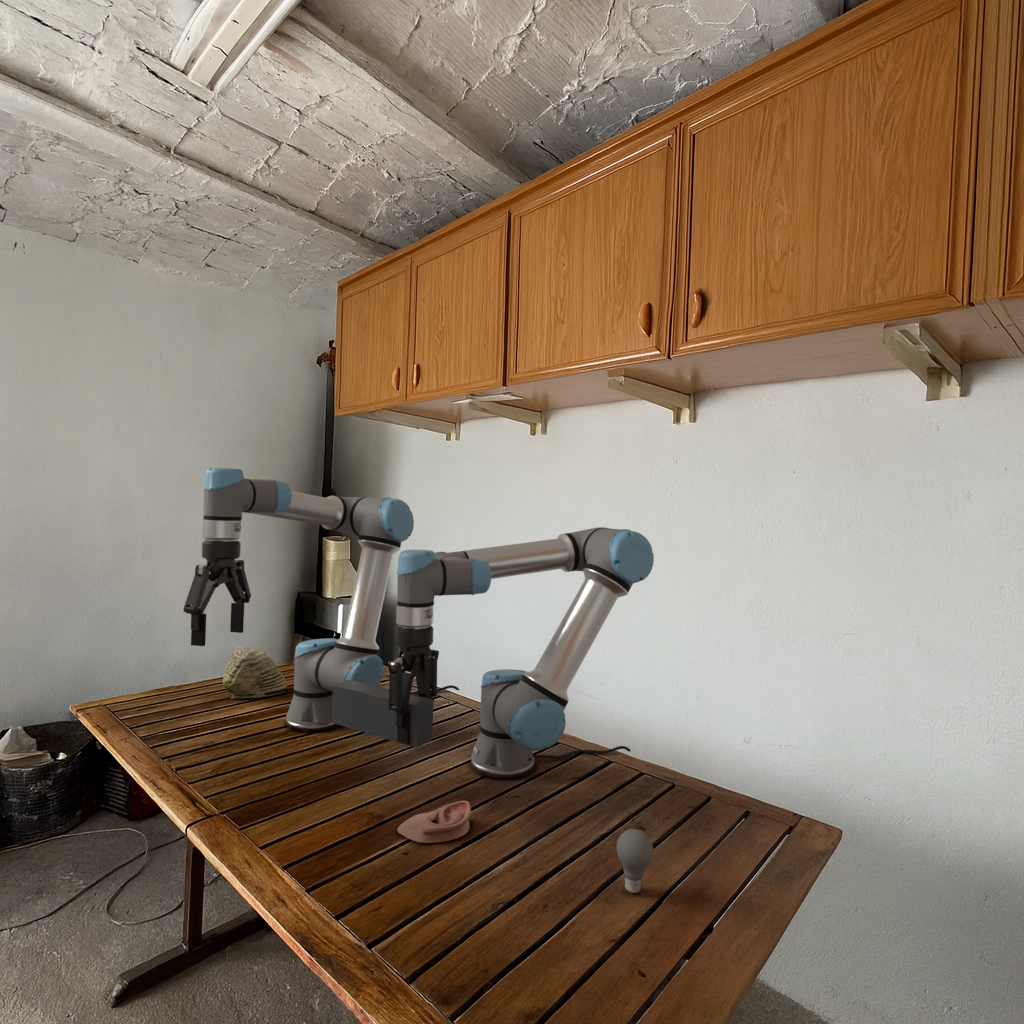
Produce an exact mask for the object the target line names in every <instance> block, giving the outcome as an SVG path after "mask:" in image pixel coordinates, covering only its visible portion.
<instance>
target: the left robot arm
mask: <svg viewBox="0 0 1024 1024" xmlns="http://www.w3.org/2000/svg"><path fill="white" fill-rule="evenodd" d="M203 483H204V484H203V489H202V490H203V511H202V512H203V514H202V515H203V517H202V518H203V519H202V530H201V531H202V535H201V537H202V538H203V539H204V540H203V541H202V543H201V545H202V546H201V556H202V558H203V559H205V560H206V563H205V564H196V565H195V569H194V576H193V579H192V583H191V585H190V588H189V591H188V594H187V597H186V600H185V602H184V605H183V612H184V613H185V614H189V615H190V631H191V632H190V646H193V647H194V646H196V647H205V646H206V637H207V634H206V633H207V613H204V612H205V610H206V609H207V607H208V604H209V603H210V600H211V598H212V596H213V594H214V593H215V590H216V589H217V588H219V587H220V585H223V584H224V585H225V587H226V589H227V591H228V593H229V594H230V597H231V599H232V600H233V602H231V603H230V625H229V626H230V627H229V628H230V629H229V632H230V633H239V634H243V633H244V624H245V621H244V620H245V604H250V601H251V598H252V593H251V590H250V586H249V582H248V578H247V575H246V569H245V560H243V559H239V558H241V549H242V547H241V546H242V543H241V542H240V539H241V537H242V520H243V519H242V518H243V513H244V514H245V513H246V514H252V515H259V516H265V517H269V518H270V517H271V518H276V519H284V520H289V521H297V522H303V523H308V524H315V525H321V527H322V528H323V529H325V530H329V531H330V530H331V531H334V532H339V533H342V534H346V535H350V536H353V537H356V538H358V539H357V543H358V544H359V545H360V547H361V552H360V557H359V561H358V566H357V569H356V570H357V571H356V574H355V580H354V584H353V589H352V594H351V598H350V603H349V607H348V612H347V617H346V622H345V625H344V629H343V634H342V636H341V637H340V638H335V637H334V638H331V637H329V638H315V639H308V640H304V641H301V642H299V643H298V644H297V645H296V646H295V652H294V656H293V659H294V661H293V662H294V668H293V669H294V670H293V695H292V696H293V697H292V699H291V702H290V704H289V707H288V711H287V713H286V715H285V726H286V728H287V729H289V730H291V731H294V732H295V731H296V732H301V733H316V732H325V731H329V730H332V729H335V728H337V727H339V726H340V725H337V724H334V723H332V702H333V685H335V684H338V683H341V682H344V681H347V680H353V681H357V682H361V683H366V684H370V685H374V686H378V687H380V684H381V682H382V680H383V677H384V674H385V664H384V662H383V660H382V658H381V657H380V656H379V652H380V646H379V645H378V643H377V642H376V640H377V639H376V638H377V633H378V629H379V625H380V624H379V623H380V621H381V620H380V619H381V616H382V615H381V614H382V610H383V605H384V600H385V595H386V590H387V585H388V582H389V576H390V571H391V567H392V562H393V558H394V555H395V553H397V552H399V551H400V550H401V547H402V542H405V541H406V540H408V539H409V537H411V535H412V533H413V531H414V527H415V520H414V515H413V512H412V510H411V507H410V506H409V504H407V502H406V501H404V500H402V499H399V498H393V497H389V496H388V497H374V496H373V497H370V496H338V495H329V496H326V497H323V496H319V495H313V494H309V493H304V492H299V491H294V490H292V489H291V487H290V485H289V484H288V483H287V482H285V481H283V480H277V479H261V478H260V479H259V478H258V479H257V478H245V476H244V471H243V470H242V469H241V468H231V467H209V468H207V470H206V471H205V475H204V481H203ZM447 689H454V690H456V691H460V688H459V687H458V686H456V685H452V684H451V685H446V686H443V687H439V688H437V693H438V692H441V691H444V690H447ZM411 695H415V696H419V695H418V691H417V692H414V693H411Z"/></svg>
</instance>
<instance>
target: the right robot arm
mask: <svg viewBox="0 0 1024 1024" xmlns="http://www.w3.org/2000/svg"><path fill="white" fill-rule="evenodd" d="M654 555H655V554H654V552H653V548H652V545H651V542H650V541H649V540H648V539H647V537H646V536H644V535H643V534H642V533H640V532H638V531H634V530H631V529H627V528H621V529H619V528H610V527H603V526H602V527H601V526H600V527H593V528H588V529H587V528H586V529H582V530H578V531H572V532H571V531H570V532H565V533H560V534H558V536H557V537H556V538H551V539H544V540H536V541H528V542H520V543H513V544H506V545H505V544H504V545H498V546H491V547H481V548H475V549H466V550H460V551H451V552H447V551H436V552H434V550H431V549H405V550H402V551H400V553H399V554H398V559H397V571H396V575H397V576H396V577H397V580H396V581H397V583H396V584H397V586H396V587H397V590H396V591H397V592H396V593H397V594H396V595H397V596H396V597H397V598H396V616H395V617H396V619H395V622H396V624H397V625H398V626H397V627H396V631H395V634H396V636H395V639H396V640H395V643H396V645H397V646H398V648H399V651H398V654H397V658H396V659H394V660H389V661H388V662H387V669H388V672H389V677H388V678H389V679H388V689H389V709H390V710H393V711H396V726H397V742H396V743H398V742H401V743H400V744H402V743H404V744H403V745H405V744H409V743H410V711H407V710H408V705H409V699H410V694H412V693H411V692H412V689H413V683H414V679H415V682H416V688H417V692H418V695H417V696H420V697H424V698H428V699H432V700H433V703H434V702H435V698H436V697H437V696H438V695H437V694H438V692H437V689H438V660H439V657H440V656H439V655H440V650H437V649H433V648H432V649H431V646H432V645H433V643H434V627H433V624H434V605H435V597H436V596H437V597H440V596H441V597H442V596H464V595H465V596H466V595H467V596H468V595H471V596H474V595H482V594H485V593H487V592H488V591H489V590H490V587H491V584H492V580H495V579H501V578H508V577H515V576H522V575H530V574H536V573H543V572H549V571H556V570H562V571H563V572H565V573H570V572H583V576H584V580H583V582H582V584H581V586H580V587H579V590H578V591H577V593H576V595H575V597H574V599H573V600H572V602H571V603H570V605H569V607H568V609H567V610H566V612H565V614H564V617H563V618H562V620H561V621H560V623H559V625H558V627H557V629H556V630H555V632H554V634H553V635H552V637H551V639H550V641H549V642H548V645H547V646H546V648H545V650H544V651H543V653H542V655H541V656H540V658H539V660H538V662H537V663H536V666H535V667H534V669H533V670H531V671H526V670H524V669H523V670H522V669H515V668H512V669H511V668H509V669H507V668H505V669H502V668H501V669H493V670H488V671H486V672H485V673H483V675H482V680H481V684H480V688H481V689H480V690H481V692H480V715H479V716H480V717H479V720H480V721H479V733H478V736H477V739H476V742H475V745H474V746H473V750H472V753H471V756H470V767H471V769H472V770H473V771H474V772H476V773H477V774H479V775H481V776H484V777H487V778H491V779H498V780H499V779H500V780H501V779H502V780H512V779H518V778H522V777H524V776H527V775H529V774H531V773H532V772H533V770H534V769H535V759H552V760H553V759H554V760H555V759H557V760H558V759H563V758H567V757H570V756H572V755H575V754H585V753H586V754H610V753H613V752H615V751H618V750H625V751H627V752H629V753H630V752H632V750H631V749H630V748H629V747H628V746H625V745H619V746H616V747H613V748H610V749H605V750H600V749H599V750H598V749H597V750H596V749H594V750H593V749H576V750H572V751H569V752H568V753H564V754H559V755H553V754H551V755H549V754H533V752H538V751H542V750H546V749H548V748H551V747H552V746H554V745H555V744H556V743H557V742H558V741H559V740H560V738H561V737H562V736H563V734H564V732H565V729H566V725H567V721H566V713H565V709H566V708H567V705H568V703H569V702H570V698H569V694H568V690H569V687H570V686H571V684H572V682H573V680H574V678H575V677H576V675H577V673H578V671H579V669H580V667H581V666H582V664H583V662H584V660H585V658H586V656H587V654H588V653H589V651H590V649H591V647H592V646H593V644H594V642H595V641H596V638H597V637H598V634H599V632H600V631H601V630H602V627H603V626H604V624H605V622H606V620H607V618H608V616H609V614H610V613H611V611H612V609H613V607H614V605H615V604H616V602H617V600H618V599H619V598H622V597H625V596H627V595H628V594H629V592H630V590H631V588H632V587H633V585H634V584H637V583H640V582H641V581H642V582H643V581H644V580H646V579H647V578H648V577H649V576H650V574H651V572H652V570H653V567H654V561H655V557H654ZM402 705H403V706H402Z"/></svg>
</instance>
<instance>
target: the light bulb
mask: <svg viewBox="0 0 1024 1024" xmlns="http://www.w3.org/2000/svg"><path fill="white" fill-rule="evenodd" d="M615 849H616V854H617V857H618V859H619V861H620V863H621V865H622V867H623V873H624V874H623V875H624V876H625V878H624V888H625V890H627V891H628V892H630V893H634V894H635V893H639V892H640V891H641V889H642V887H641V886H642V879H643V877H644V875H645V871H646V868H647V867H648V866H649V864H650V863H651V861H652V859H653V855H654V847H653V843H652V841H651V838H649V836H648V835H647V834H646V833H645V832H643V831H642V830H641V829H636V828H629V829H627V830H625V831H623V832H622V833H621V834H620V835H619V837H618V839H617V841H616V847H615Z"/></svg>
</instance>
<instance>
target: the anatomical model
mask: <svg viewBox="0 0 1024 1024" xmlns="http://www.w3.org/2000/svg"><path fill="white" fill-rule="evenodd" d="M471 813H472V808H471V804H470V802H469V801H468V800H459V801H454V802H451V803H449V804H446V805H442V806H441V807H439V808H436V809H434V810H432V811H429V812H421V813H417V814H415V815H413V816H411V817H409V818H407V819H406V820H405V821H403V822H402V823H401V824H400V825H399V826H398V827H397V829H396V830H397V833H398V834H400V835H401V836H403V837H404V838H406V839H408V840H410V841H414V842H416V843H419V844H434V843H443V842H448V841H452V840H456V839H459V838H461V837H463V836H465V835H466V834H467V833H469V830H470V821H469V819H470V817H471Z"/></svg>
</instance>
